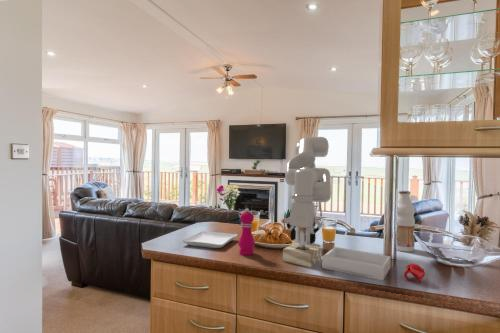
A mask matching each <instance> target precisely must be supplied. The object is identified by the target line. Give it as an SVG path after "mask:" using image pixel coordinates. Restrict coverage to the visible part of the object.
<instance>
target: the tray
mask: <svg viewBox="0 0 500 333" xmlns="http://www.w3.org/2000/svg"><path fill="white" fill-rule="evenodd" d="M391 259H392V258H391V256H389V255H385V254H381V253H380V254H378V253H374V252H367V251H360V250H354V249H348V248H342V247H337V246H335V247H333V248H332V249H330V250H329V251H327V252H326V253H325V254H323V255H321V268H322V269H326V270H331V271H336V272H339V273H345V274H349V275H355V276H358V277H365V278H367V279H368V278H369V279H374V280H378V281H382V282H383V281H384V279H386V276H387V274H388V273H389V271H390V269H391Z"/></svg>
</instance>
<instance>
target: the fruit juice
mask: <svg viewBox="0 0 500 333" xmlns="http://www.w3.org/2000/svg"><path fill="white" fill-rule="evenodd" d="M398 195H399V196H398V198H397V201H398V209H397V223H398V228H397V250H396V251H398V252H399V251H400V252H404V253H405V252H406V253H407V252H408V253H413V252H414V250H415V242H416V241H415V237H416V236H415V237H414V235H413V231H415V232H416V230H415V229H416V220H415V216H414V215H415V213H416V212H415V211H416V208H415V207H414V204H413V202H412V200H411V197H410V195H411V191H410V190H399V191H398Z"/></svg>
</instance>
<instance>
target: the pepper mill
mask: <svg viewBox="0 0 500 333" xmlns="http://www.w3.org/2000/svg"><path fill="white" fill-rule="evenodd" d="M239 218H240V222H241V225H240V226H241V228H242V229H241V230H242V231H241V235H240V237H239V240H238V247H239V253H238V254H239V255H242V256H252V255H253V254H254V251H255V250H254V247H255V245H256V244H255V238H254V236H253V234H252V227H253V224H254V223H253V221H255V220H254V219H255V218H254V214H253V213H252V212H250V209H249V208H245V209H244V211H243V212H242V213H241V214H240V217H239Z"/></svg>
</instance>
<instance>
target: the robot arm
mask: <svg viewBox="0 0 500 333" xmlns="http://www.w3.org/2000/svg"><path fill="white" fill-rule="evenodd" d="M329 146H330V145H329V141H328V139H327V138H326V137H324V136H305V137H302V138H301V139H300V140H299V142H298V143H297V144H296V145H295V148H294V149H295V150H294V151H295V155H294V157H292V158H291V159H290V160H289V161H288V162H287V164H286V169H285V176H284V180H285V183H286V184H287V185H288V186H293V195H291V197H290V198H291V199H293V201H292V202H291V206H290V213H289V216H288V217H286V218H285V219H284V223H285V224H286V227H287V228H288V230H289V232H290V237H289V238H290V240H291V241H293V242H295V243H299V227H303V228H307V241H306V245H310V246H316V247H319V245H318V244H317V243H316V239H317V237H316V233H317V232H318V231H320V229H321V228H322V227H323V225H324V224H323V223H322V222H321V221H320V220H319V219H318V218H317V217H316V207H315V203H327V202H329V201H330V200H331V197H332V183H331V182H332V181H331V179H332V177H331V172H330V170H329V169H328V168H323V167H316V163H315V161H316V158H325V157H328V156H327V155H328V153H329ZM316 225H317V226H316Z"/></svg>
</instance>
